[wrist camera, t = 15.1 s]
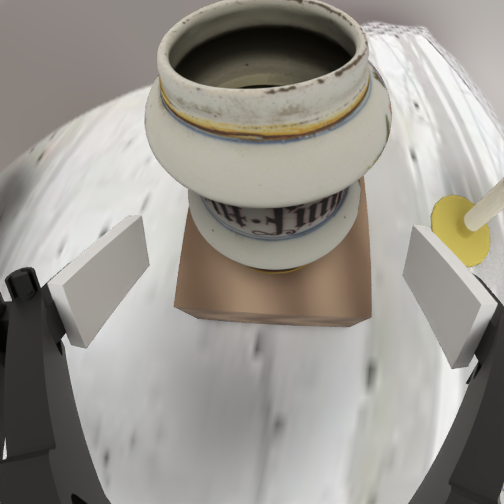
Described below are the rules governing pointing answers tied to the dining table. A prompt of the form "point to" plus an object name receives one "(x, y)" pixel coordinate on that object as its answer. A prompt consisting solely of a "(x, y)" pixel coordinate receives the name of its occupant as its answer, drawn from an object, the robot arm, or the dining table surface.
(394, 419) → the dining table surface
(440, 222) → the rod with yellow discs
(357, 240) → the walnut stand
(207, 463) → the dining table surface
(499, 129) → the dining table surface
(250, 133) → the apothecary jar
